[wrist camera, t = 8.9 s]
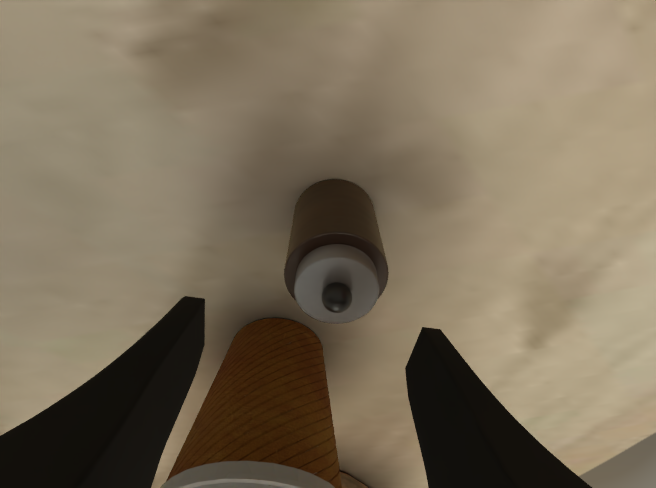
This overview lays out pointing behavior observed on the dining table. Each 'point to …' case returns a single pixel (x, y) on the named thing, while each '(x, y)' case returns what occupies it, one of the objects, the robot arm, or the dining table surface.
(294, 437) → the disposable coffee cup
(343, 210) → the pepper mill
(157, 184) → the dining table surface
